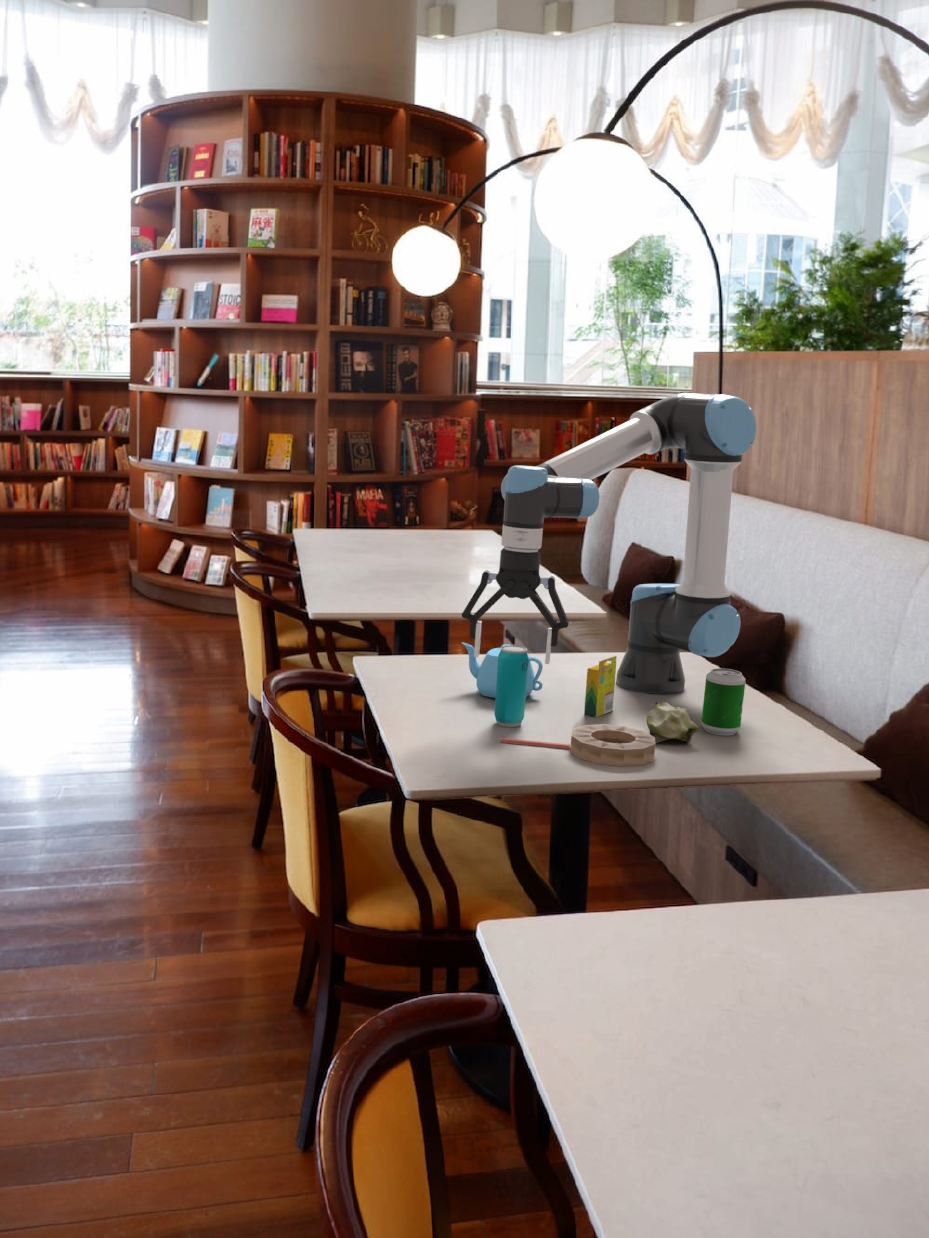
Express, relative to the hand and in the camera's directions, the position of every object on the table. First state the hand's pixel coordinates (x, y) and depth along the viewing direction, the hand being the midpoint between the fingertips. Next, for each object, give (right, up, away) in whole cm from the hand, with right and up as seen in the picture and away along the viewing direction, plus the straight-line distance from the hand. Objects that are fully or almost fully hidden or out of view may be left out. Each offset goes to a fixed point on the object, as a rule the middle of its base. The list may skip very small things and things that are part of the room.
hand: (511, 659), depth 228 cm
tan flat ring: (+18, -17, -11) cm, 27 cm away
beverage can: (-1, -13, +3) cm, 13 cm away
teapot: (-2, -8, +25) cm, 26 cm away
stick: (+4, -15, -10) cm, 19 cm away
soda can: (+41, -15, +7) cm, 44 cm away
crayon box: (+18, -12, +14) cm, 26 cm away
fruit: (+30, -16, -1) cm, 34 cm away
